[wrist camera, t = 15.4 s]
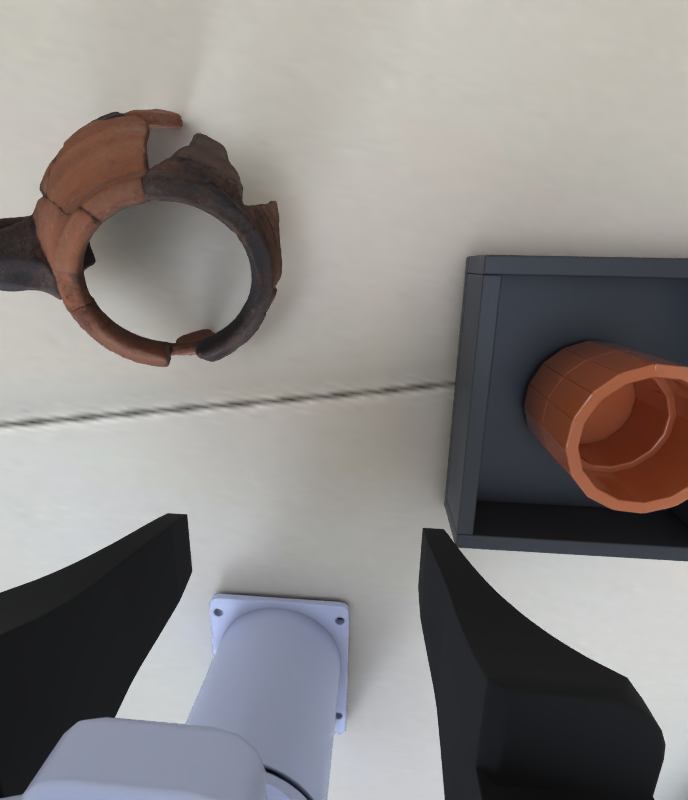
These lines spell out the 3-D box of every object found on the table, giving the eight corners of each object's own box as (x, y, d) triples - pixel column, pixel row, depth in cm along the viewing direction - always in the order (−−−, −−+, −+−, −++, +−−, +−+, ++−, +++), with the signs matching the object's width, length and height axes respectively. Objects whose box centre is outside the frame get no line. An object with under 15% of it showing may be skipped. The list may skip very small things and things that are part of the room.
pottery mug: (241, 78, 19) (266, 110, 13) (283, 280, 26) (313, 364, 20) (-61, 126, 18) (-185, 188, 12) (63, 328, 24) (22, 435, 18)
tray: (672, 517, 23) (726, 564, 20) (444, 505, 24) (455, 548, 20) (736, 261, 20) (817, 260, 16) (466, 256, 20) (485, 255, 17)
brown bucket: (652, 436, 21) (741, 492, 16) (533, 465, 22) (581, 527, 17) (636, 323, 20) (726, 344, 15) (510, 359, 21) (553, 390, 16)
